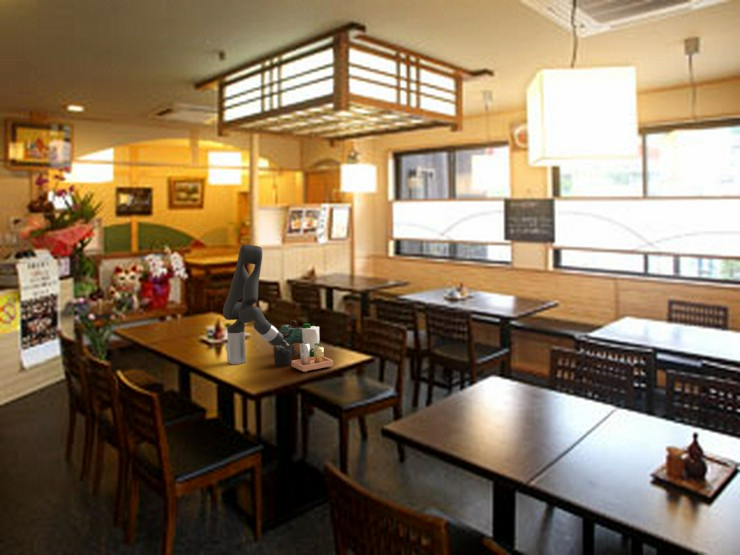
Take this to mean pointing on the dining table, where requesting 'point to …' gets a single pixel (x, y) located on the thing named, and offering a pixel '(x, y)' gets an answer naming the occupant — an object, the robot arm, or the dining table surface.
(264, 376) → the dining table surface
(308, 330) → the milk carton
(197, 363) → the dining table surface
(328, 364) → the pink tray
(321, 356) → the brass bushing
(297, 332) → the ceramic cat
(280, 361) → the pen holder
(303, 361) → the steel spacer
